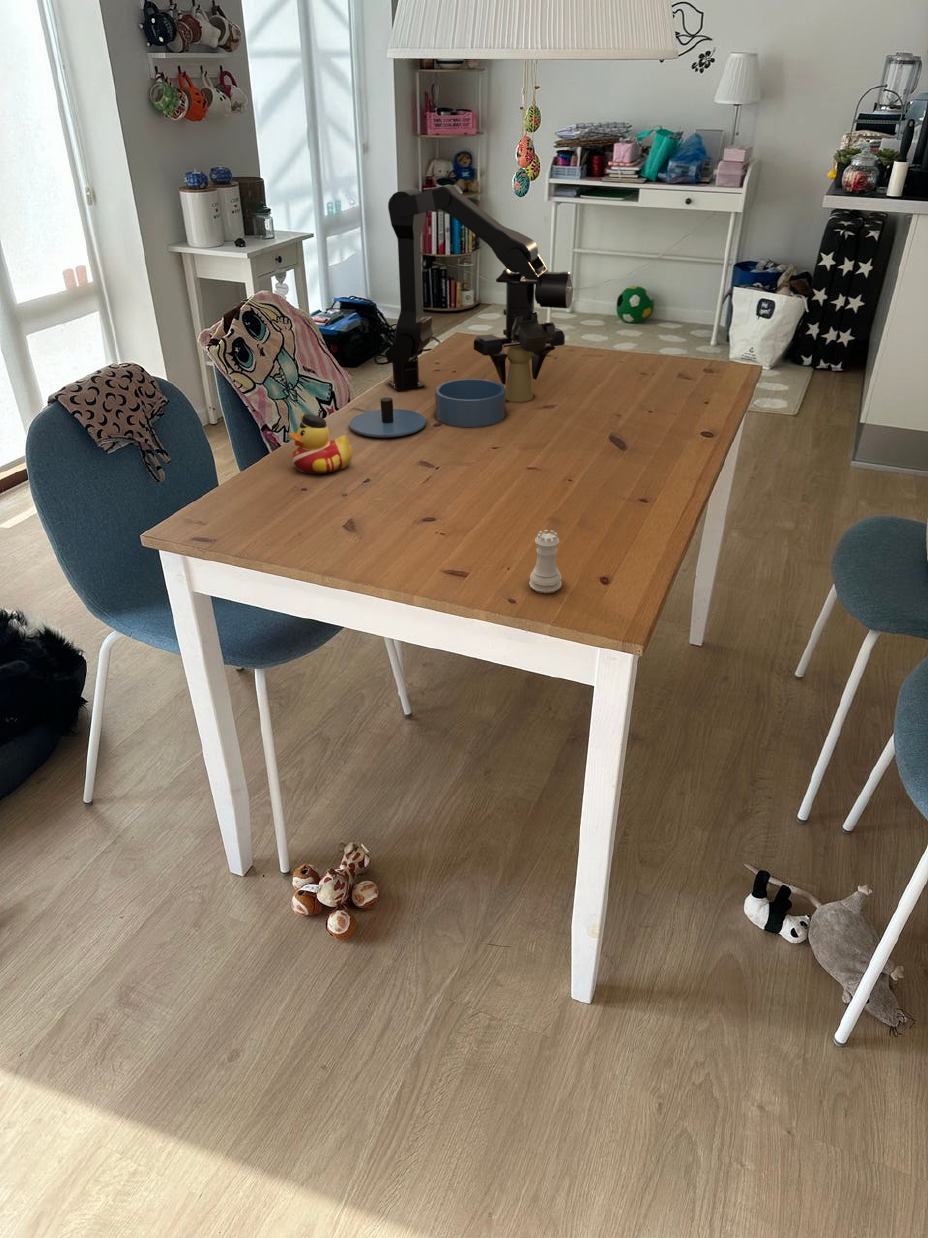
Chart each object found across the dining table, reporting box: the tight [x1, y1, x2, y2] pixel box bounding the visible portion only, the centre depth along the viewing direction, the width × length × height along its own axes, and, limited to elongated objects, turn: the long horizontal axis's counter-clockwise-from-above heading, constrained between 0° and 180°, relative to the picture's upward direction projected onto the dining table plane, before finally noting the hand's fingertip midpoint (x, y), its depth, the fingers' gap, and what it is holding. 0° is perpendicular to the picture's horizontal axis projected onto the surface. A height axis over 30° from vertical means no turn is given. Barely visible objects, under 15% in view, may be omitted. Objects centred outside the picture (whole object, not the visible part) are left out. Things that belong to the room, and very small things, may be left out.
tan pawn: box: [505, 345, 534, 403], centre depth 186 cm, size 6×6×11 cm
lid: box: [349, 396, 427, 438], centre depth 173 cm, size 15×15×6 cm
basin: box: [434, 378, 506, 428], centre depth 178 cm, size 14×14×5 cm
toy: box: [288, 413, 353, 475], centre depth 154 cm, size 9×11×10 cm
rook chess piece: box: [528, 529, 563, 594], centre depth 118 cm, size 4×4×8 cm
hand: (519, 381), depth 187 cm, fingers closed on tan pawn, 7 cm apart
